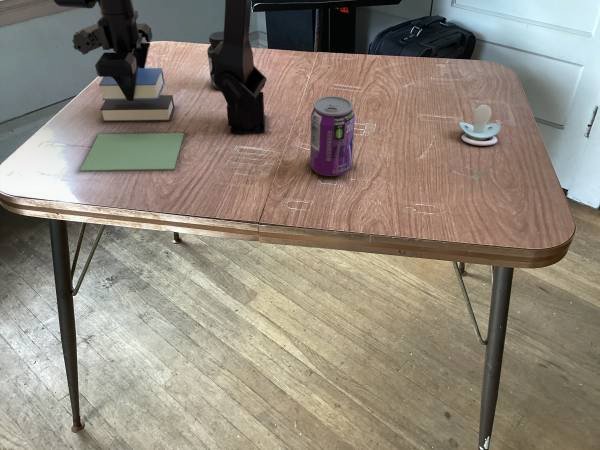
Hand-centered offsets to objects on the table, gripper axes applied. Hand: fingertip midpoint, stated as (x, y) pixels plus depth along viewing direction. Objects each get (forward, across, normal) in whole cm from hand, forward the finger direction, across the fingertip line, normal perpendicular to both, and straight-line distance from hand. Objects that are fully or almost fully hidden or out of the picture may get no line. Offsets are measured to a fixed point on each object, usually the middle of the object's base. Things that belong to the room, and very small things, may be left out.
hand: (134, 91), depth 106 cm
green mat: (+5, +14, +2) cm, 15 cm away
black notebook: (+5, 0, 0) cm, 5 cm away
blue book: (0, 0, 0) cm, 0 cm away
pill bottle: (+5, -13, +16) cm, 21 cm away
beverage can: (+5, +20, +37) cm, 42 cm away
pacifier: (+5, +11, +65) cm, 66 cm away
